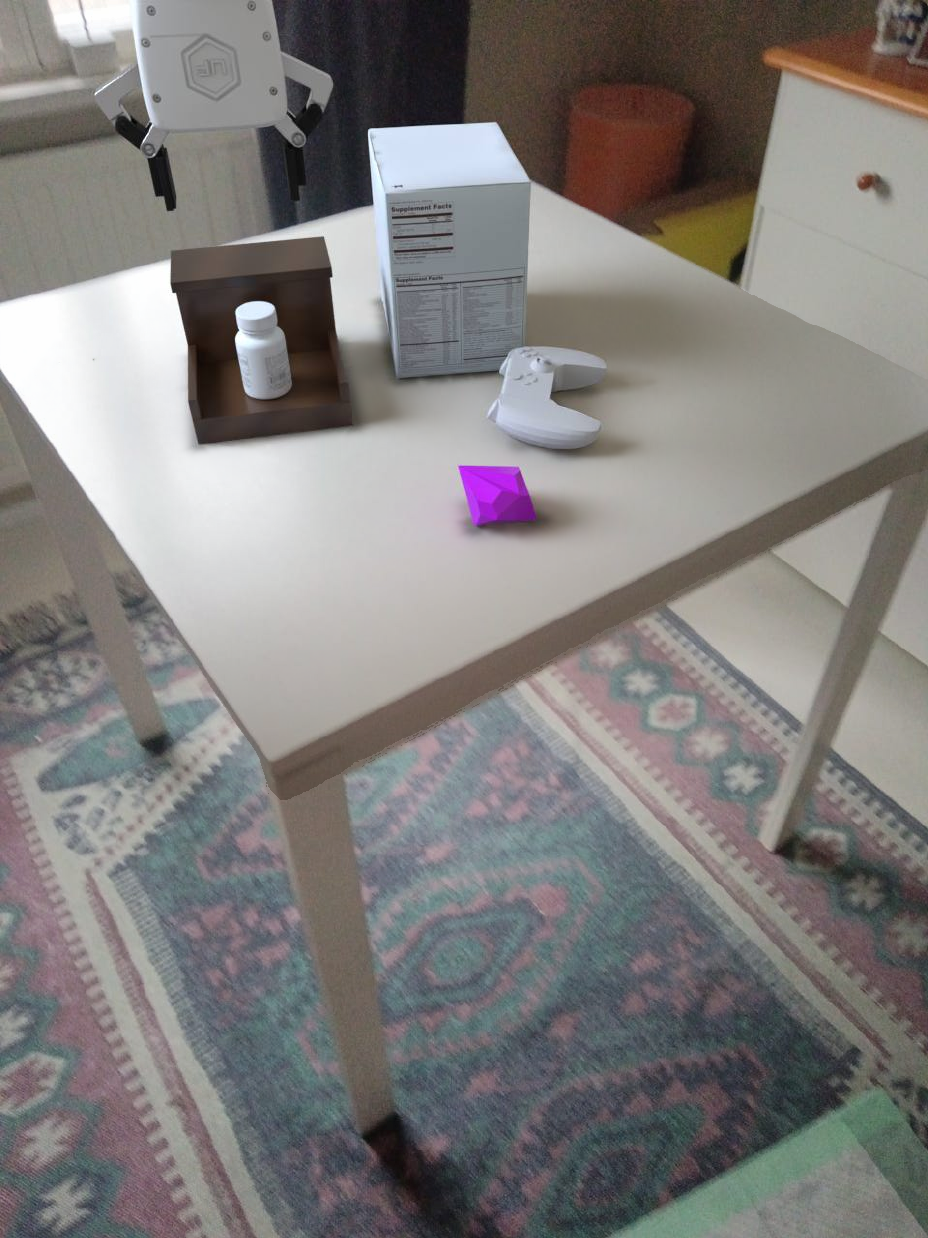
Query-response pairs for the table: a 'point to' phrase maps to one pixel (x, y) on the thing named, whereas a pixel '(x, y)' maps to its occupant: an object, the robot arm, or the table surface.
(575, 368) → the game controller
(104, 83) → the robot arm
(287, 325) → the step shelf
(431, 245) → the supplement box
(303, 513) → the table surface
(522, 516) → the crystal
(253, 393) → the pill bottle
